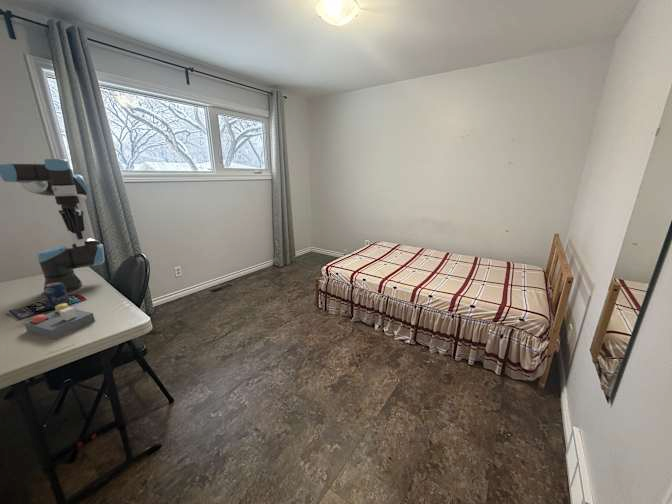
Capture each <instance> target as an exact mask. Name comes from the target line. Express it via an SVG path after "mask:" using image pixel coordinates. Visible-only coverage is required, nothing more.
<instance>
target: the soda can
mask: <svg viewBox="0 0 672 504" xmlns="http://www.w3.org/2000/svg"><path fill="white" fill-rule="evenodd" d="M43 291H45V292H44V294H45V296H46V299H47V302H48V305H49V308H51V309H52V310H56V309H55V306H56V305H59V304H63V303H68V306H69V305H70V303H71V300H70V297H69V294H68V292H67V291H66V288H65V285H64V284H63V283H62V282H53V283H49V284H46V285H45V288H44V287H43Z"/></svg>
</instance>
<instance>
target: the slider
mask: <svg viewBox="0 0 672 504" xmlns="http://www.w3.org/2000/svg"><path fill="white" fill-rule="evenodd" d="M75 309H76V308H75V307H73V306H69V307H68V308H65V309H62V310H60V311H59V313H60V316H61V319H62V320H66V321H67V320H70V319H72V318H75V317H77V314H76V311H75Z"/></svg>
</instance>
